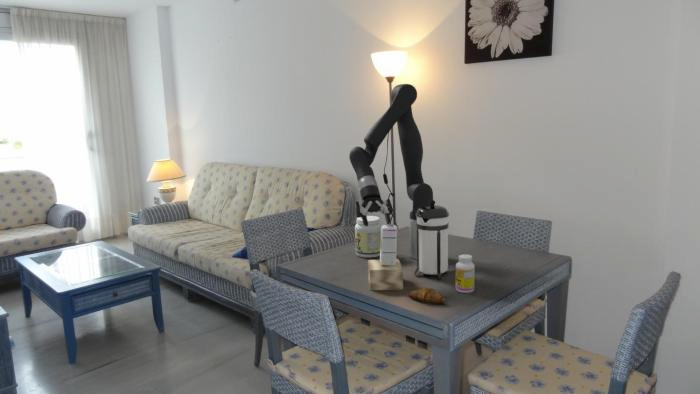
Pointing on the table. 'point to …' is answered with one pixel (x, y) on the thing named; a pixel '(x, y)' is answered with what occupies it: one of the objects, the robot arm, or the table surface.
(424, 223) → the coffee press
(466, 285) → the supplement bottle
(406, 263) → the table surface
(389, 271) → the riser block
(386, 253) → the syrup box
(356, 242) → the supplement tub
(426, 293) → the croissant
